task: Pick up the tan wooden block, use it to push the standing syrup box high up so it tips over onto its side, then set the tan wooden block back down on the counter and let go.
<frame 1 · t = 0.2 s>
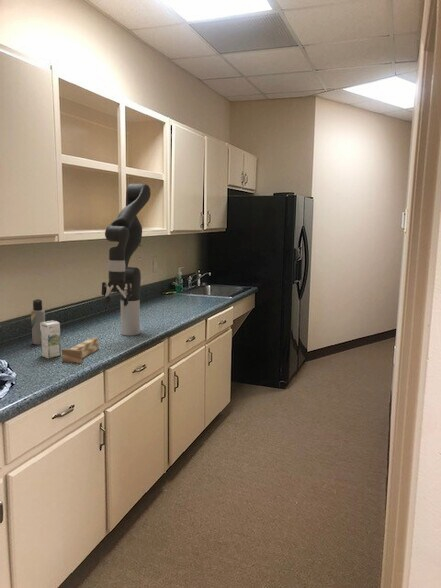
hand: (116, 305, 210), 17 cm above the worktop, tool pointing down, fingers open, 8 cm apart
syrup box: (51, 356, 190), on the worktop
lotion bottle: (39, 343, 208), on the worktop
tan wooden block: (84, 354, 193), on the worktop
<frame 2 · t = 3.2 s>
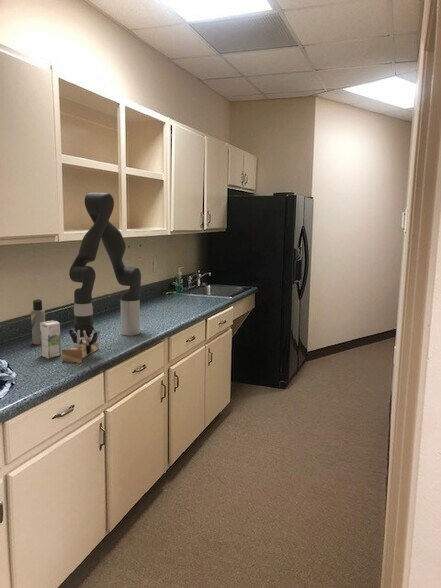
hand: (84, 353, 193), 1 cm above the worktop, tool pointing down, fingers closed on tan wooden block, 3 cm apart
tan wooden block: (84, 354, 193), on the worktop, touching gripper
everything else where it was.
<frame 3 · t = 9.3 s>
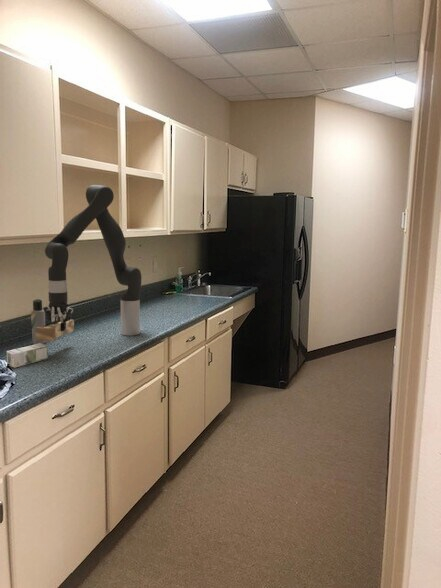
hand: (59, 330, 194), 9 cm above the worktop, tool pointing down, fingers closed on tan wooden block, 3 cm apart
syrup box: (44, 350, 187), point 3 cm above the worktop
tan wooden block: (59, 335, 195), point 7 cm above the worktop, touching gripper
everything else where it was.
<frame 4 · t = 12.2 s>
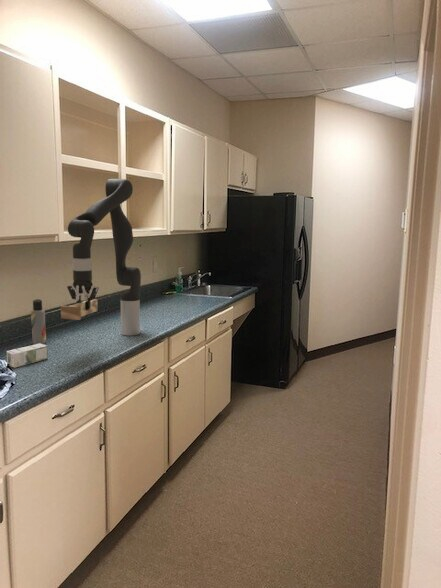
hand: (83, 309, 192), 19 cm above the worktop, tool pointing down, fingers closed on tan wooden block, 3 cm apart
tan wooden block: (83, 314, 192), point 17 cm above the worktop, touching gripper
everything else where it was.
when the fingers open (2 cm above the worktop, at t = 15.1 s): tan wooden block stays where it is, on the worktop.
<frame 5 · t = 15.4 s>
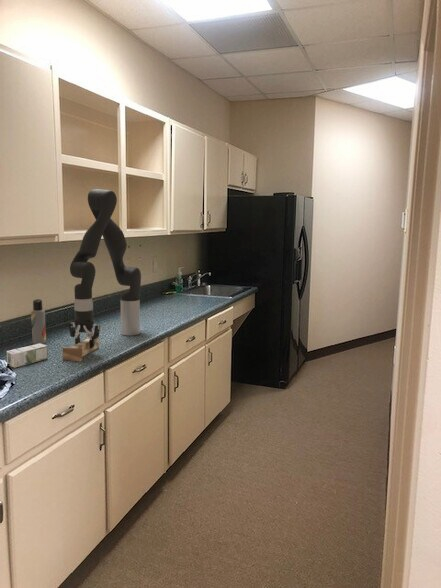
hand: (84, 347, 194), 3 cm above the worktop, tool pointing down, fingers open, 5 cm apart
tan wooden block: (85, 353, 195), on the worktop
everything else where it was.
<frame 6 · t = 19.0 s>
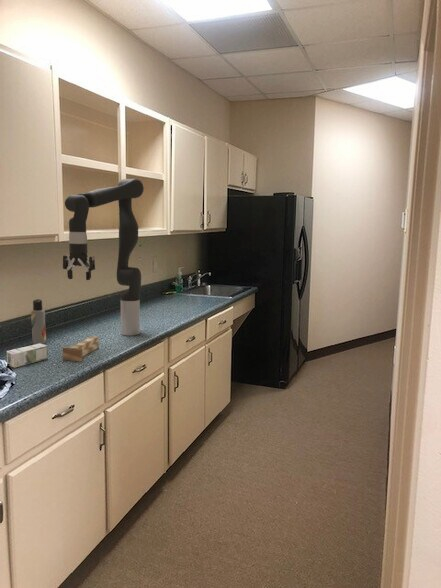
hand: (79, 279, 200), 30 cm above the worktop, tool pointing down, fingers open, 8 cm apart
nothing on the worktop moved.
at the end: syrup box tilted 90°; the gripper is holding nothing; tan wooden block inside the target area (0.4 cm from its centre), on the worktop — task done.
